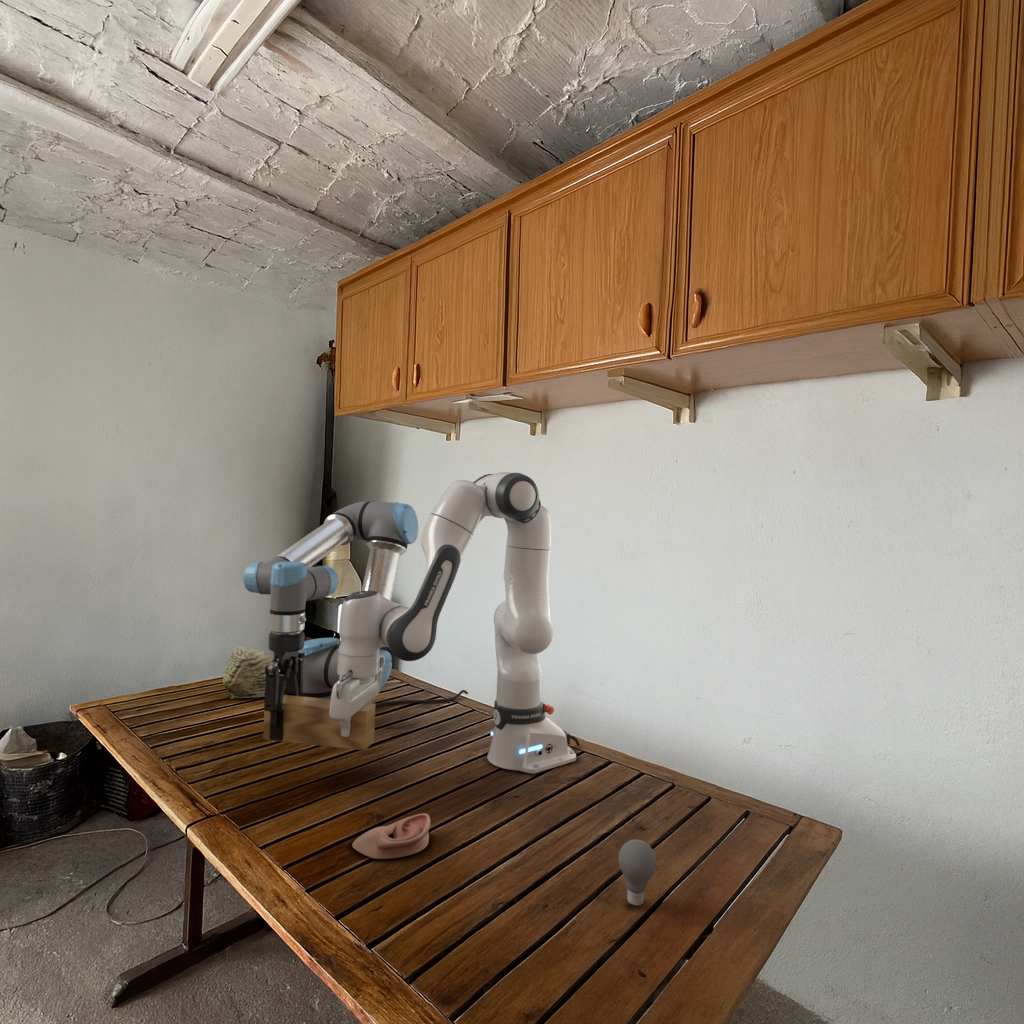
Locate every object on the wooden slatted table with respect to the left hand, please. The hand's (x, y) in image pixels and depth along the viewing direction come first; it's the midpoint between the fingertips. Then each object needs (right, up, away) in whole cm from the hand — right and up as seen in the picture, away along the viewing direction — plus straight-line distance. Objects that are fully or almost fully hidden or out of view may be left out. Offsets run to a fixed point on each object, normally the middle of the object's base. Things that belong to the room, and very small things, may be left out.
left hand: (283, 734), depth 142 cm
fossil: (-29, -7, +56) cm, 64 cm away
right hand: (+17, +2, -3) cm, 17 cm away
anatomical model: (+29, -12, -25) cm, 40 cm away
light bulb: (+71, -14, -39) cm, 82 cm away
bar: (+8, -1, -1) cm, 9 cm away
